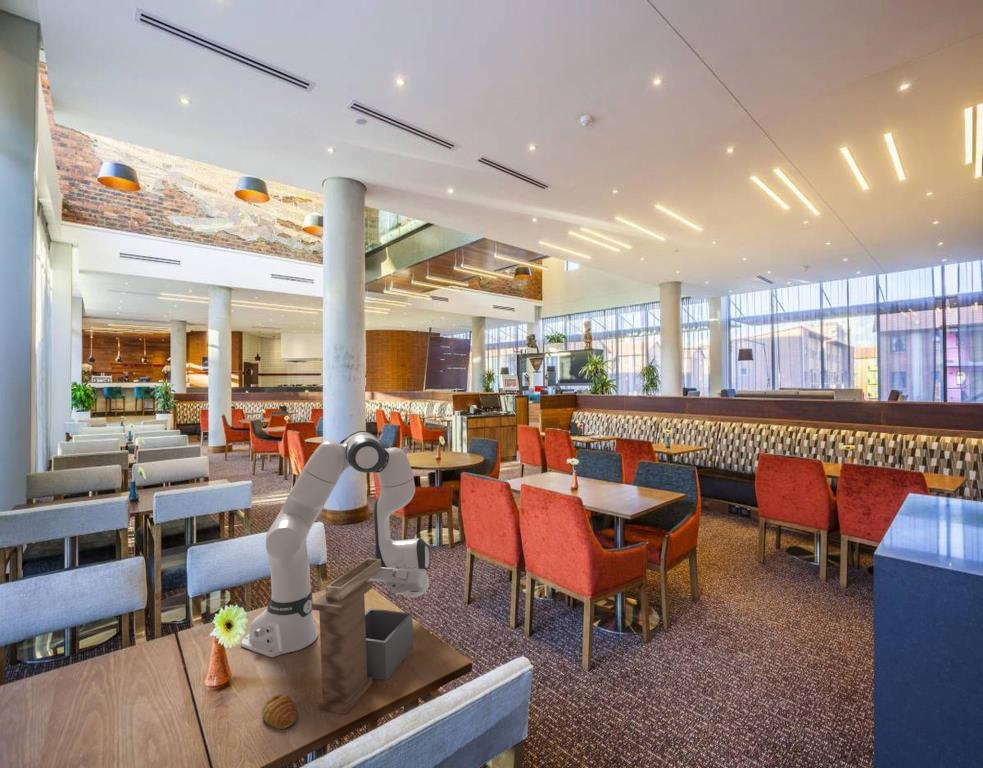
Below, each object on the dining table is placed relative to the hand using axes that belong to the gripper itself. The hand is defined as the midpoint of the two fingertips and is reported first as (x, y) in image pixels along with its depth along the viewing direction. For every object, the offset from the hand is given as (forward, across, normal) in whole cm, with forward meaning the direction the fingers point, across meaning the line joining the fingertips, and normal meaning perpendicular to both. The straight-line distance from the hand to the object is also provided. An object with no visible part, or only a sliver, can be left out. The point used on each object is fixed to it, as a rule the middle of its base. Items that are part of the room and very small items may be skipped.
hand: (380, 571), depth 139 cm
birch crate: (+12, 0, +5) cm, 13 cm away
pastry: (+13, -11, +36) cm, 40 cm away
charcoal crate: (-10, 0, +22) cm, 24 cm away
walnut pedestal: (+4, 0, +30) cm, 30 cm away
